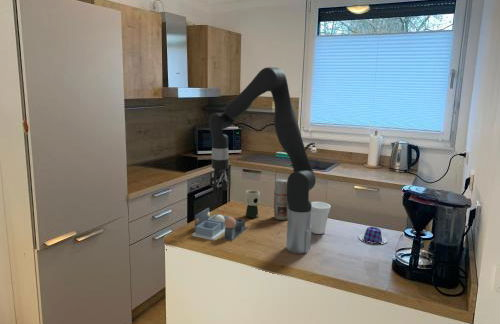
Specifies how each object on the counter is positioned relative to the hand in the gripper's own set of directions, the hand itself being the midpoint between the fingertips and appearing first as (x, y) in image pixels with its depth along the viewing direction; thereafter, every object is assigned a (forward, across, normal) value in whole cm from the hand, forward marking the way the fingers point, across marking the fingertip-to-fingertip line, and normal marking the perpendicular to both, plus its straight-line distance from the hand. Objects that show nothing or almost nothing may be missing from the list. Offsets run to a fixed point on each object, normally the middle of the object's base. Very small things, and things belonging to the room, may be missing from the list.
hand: (219, 192), depth 180 cm
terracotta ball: (+10, -9, -10) cm, 17 cm away
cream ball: (+14, 0, 0) cm, 14 cm away
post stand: (+17, -4, -10) cm, 20 cm away
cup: (+17, +15, -43) cm, 48 cm away
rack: (+17, -5, 0) cm, 18 cm away
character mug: (+17, +20, -8) cm, 27 cm away
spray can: (+17, +25, -22) cm, 37 cm away
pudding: (+18, +18, -67) cm, 71 cm away
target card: (+17, -5, +6) cm, 19 cm away
